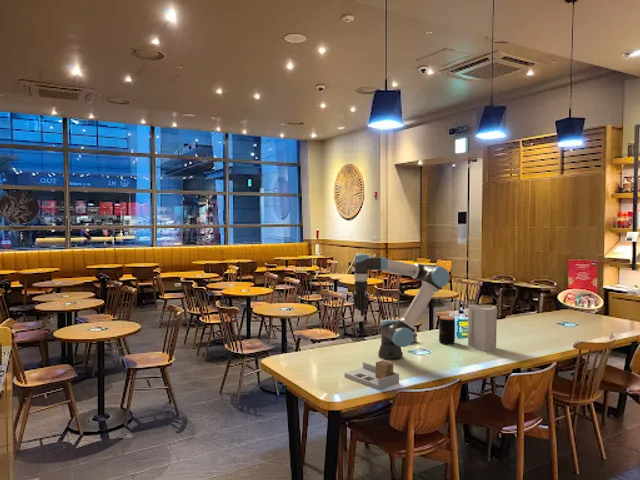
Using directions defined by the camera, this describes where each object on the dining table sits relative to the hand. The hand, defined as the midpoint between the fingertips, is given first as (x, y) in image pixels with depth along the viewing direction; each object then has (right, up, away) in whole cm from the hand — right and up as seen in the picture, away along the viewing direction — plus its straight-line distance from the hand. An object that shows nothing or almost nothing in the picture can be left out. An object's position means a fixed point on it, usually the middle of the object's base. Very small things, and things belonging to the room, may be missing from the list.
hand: (360, 321), depth 270 cm
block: (+10, -25, -26) cm, 38 cm away
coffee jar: (+65, -25, +54) cm, 88 cm away
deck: (+3, -27, -23) cm, 36 cm away
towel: (+34, -25, +61) cm, 74 cm away
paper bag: (+87, -26, +40) cm, 99 cm away
